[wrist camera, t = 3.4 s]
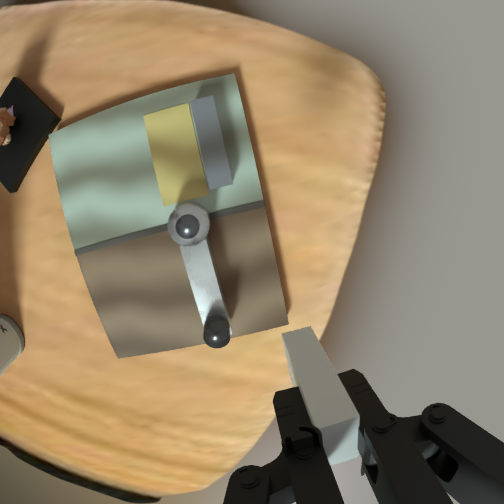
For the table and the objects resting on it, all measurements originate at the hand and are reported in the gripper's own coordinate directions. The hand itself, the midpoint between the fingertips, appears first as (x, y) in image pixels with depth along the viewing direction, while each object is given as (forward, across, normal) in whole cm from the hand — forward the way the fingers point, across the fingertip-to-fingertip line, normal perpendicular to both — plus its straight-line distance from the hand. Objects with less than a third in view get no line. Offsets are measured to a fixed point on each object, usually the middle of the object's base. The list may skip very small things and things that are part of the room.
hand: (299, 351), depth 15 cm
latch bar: (+15, -6, +1) cm, 16 cm away
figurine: (+17, -25, +22) cm, 37 cm away
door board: (+17, -9, +6) cm, 20 cm away
